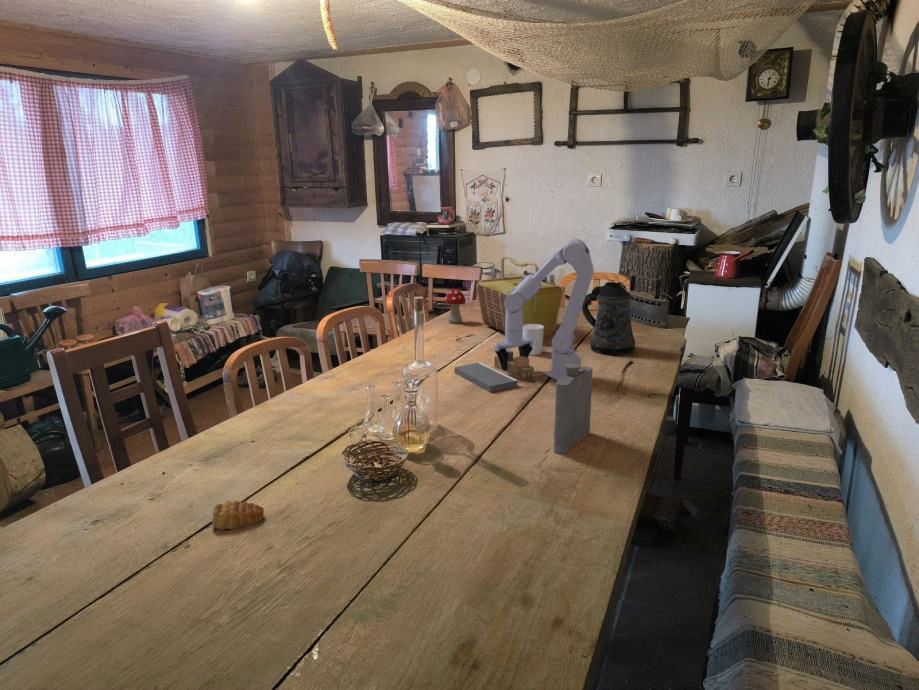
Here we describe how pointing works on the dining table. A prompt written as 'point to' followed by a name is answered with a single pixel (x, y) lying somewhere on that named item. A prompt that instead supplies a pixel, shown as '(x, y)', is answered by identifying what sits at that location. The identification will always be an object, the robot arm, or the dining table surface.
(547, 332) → the picnic basket
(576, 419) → the hip flask
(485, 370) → the dock
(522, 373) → the brown notched bar
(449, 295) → the decorative mushroom
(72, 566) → the dining table surface
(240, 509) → the pastry
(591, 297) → the beer stein
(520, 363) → the pink square block
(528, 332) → the white cup
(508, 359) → the blue-grey square block
